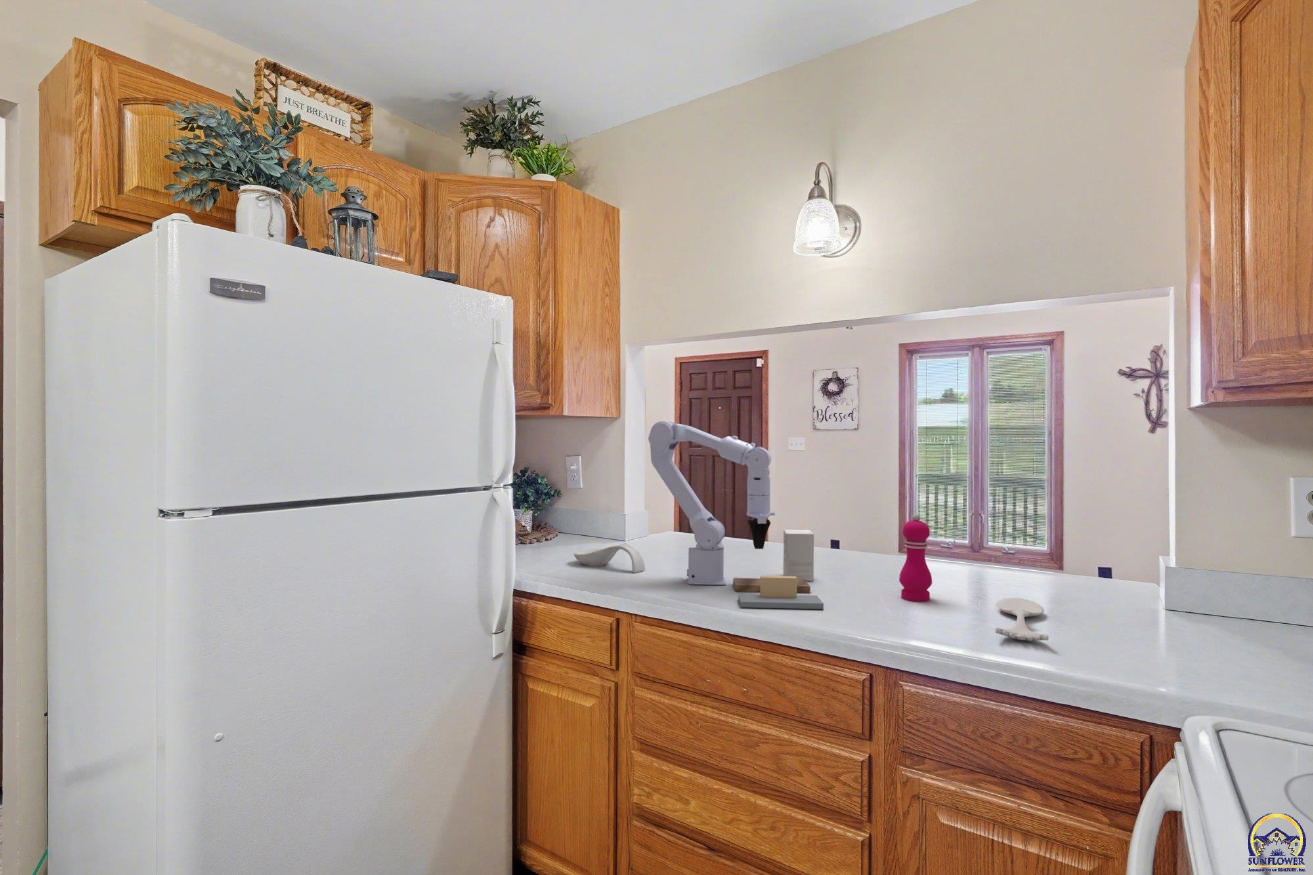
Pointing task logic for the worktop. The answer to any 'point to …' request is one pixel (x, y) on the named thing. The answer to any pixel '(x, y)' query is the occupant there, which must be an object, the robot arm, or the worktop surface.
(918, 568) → the pepper mill
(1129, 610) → the worktop surface
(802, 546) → the supplement box
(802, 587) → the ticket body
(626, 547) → the spoon rest
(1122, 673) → the worktop surface
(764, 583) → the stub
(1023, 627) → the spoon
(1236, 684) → the worktop surface
